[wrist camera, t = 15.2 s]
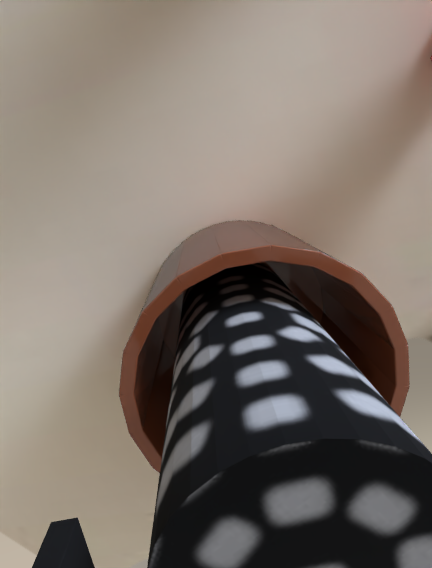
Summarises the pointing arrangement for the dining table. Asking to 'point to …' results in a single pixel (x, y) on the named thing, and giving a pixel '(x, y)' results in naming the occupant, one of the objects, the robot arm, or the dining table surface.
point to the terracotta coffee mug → (304, 285)
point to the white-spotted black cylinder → (281, 443)
